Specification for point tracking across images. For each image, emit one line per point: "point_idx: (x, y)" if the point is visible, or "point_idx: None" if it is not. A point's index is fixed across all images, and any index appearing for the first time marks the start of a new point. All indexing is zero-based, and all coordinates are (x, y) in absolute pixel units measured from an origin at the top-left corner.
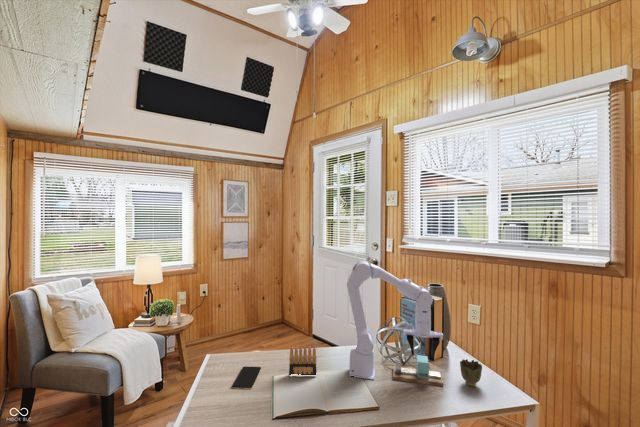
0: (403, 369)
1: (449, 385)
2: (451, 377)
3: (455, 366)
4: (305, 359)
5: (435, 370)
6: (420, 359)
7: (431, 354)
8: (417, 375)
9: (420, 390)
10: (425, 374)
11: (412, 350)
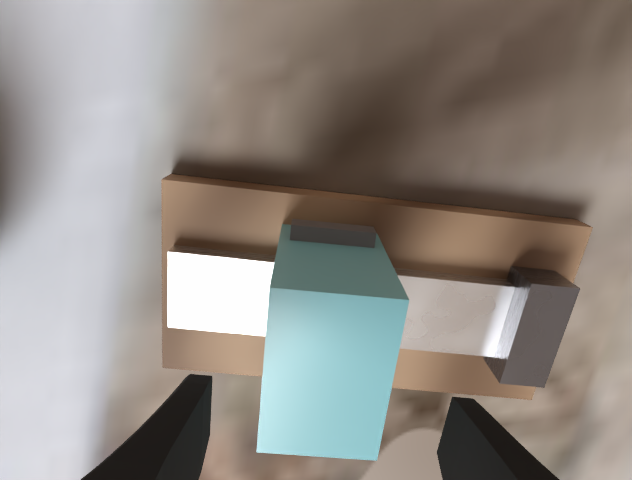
0: (482, 326)
1: (117, 195)
2: (87, 318)
3: (42, 467)
4: None
5: (200, 370)
6: (358, 367)
7: (205, 440)
8: None
9: (382, 73)
10: (313, 228)
11: (512, 448)
